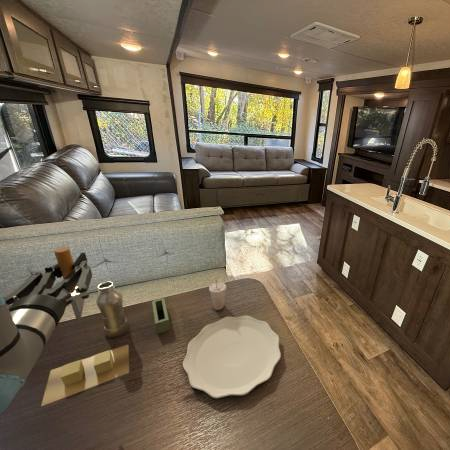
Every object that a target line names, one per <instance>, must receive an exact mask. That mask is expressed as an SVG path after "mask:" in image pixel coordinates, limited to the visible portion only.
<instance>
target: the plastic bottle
mask: <svg viewBox="0 0 450 450" xmlns="http://www.w3.org/2000/svg"><path fill="white" fill-rule="evenodd" d="M97 288H98V293H99V294H98V295H97V298H96V301H95V303H96V306H97V308H98V309H99V311H100V314H101V316H102V320H103V331H104V332H103V333H104V335H105V336H106V337H107V338H109V339H114V338H118V337H121V336H123V335H124V334H126V333H127V332H128V331H129V328H130V322H129V321H128V319H127V317H126V314H125V312H124V311H125V310H124V305H123V302H124V301H123V294H122V293H121V292H120V291H119V290H117V289H116V286H115V285H114V283H113V282H112V281H104V282H101V283H100V284H98V285H97Z"/></svg>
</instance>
